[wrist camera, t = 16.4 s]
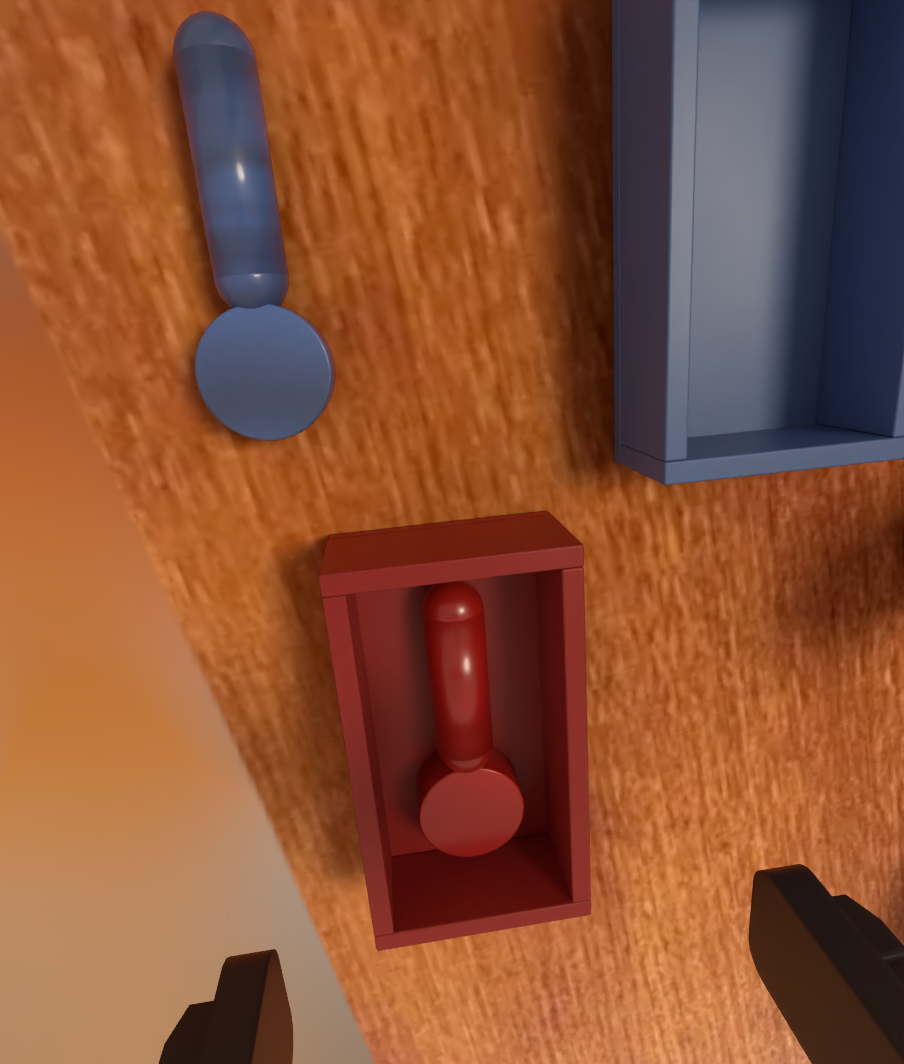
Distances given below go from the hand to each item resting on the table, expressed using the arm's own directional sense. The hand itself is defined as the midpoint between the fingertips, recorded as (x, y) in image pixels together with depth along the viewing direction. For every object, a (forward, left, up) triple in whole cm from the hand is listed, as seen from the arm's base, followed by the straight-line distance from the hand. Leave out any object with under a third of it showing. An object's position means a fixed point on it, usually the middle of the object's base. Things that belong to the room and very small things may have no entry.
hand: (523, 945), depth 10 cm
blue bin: (-12, +9, -10) cm, 18 cm away
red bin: (+2, 0, -10) cm, 10 cm away
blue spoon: (-12, -4, -10) cm, 17 cm away
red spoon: (+2, 0, -10) cm, 10 cm away
